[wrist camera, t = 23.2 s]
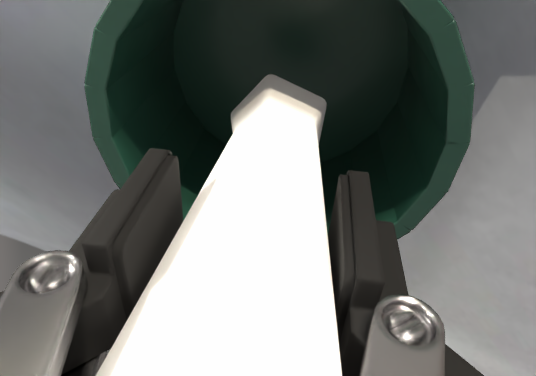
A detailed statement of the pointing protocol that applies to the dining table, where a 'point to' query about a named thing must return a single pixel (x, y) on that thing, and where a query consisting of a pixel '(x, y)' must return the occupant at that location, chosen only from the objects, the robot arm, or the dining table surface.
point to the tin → (294, 71)
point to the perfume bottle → (245, 258)
